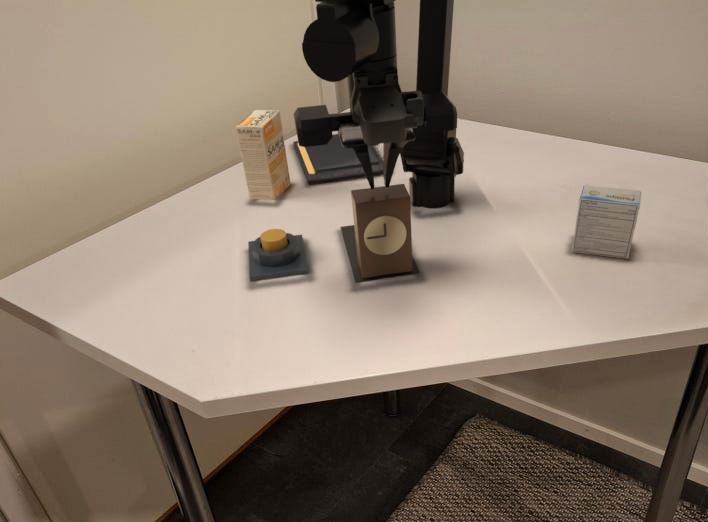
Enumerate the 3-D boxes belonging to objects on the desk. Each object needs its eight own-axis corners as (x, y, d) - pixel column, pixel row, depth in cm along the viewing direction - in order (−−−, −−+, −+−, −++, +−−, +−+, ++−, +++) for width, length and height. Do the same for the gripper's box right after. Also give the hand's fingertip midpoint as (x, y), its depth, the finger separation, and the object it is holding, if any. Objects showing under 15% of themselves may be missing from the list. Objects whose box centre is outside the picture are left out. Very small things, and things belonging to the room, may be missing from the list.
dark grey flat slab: (397, 224, 99) (397, 219, 98) (420, 279, 87) (420, 273, 86) (340, 232, 98) (340, 226, 97) (356, 288, 86) (355, 282, 85)
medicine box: (630, 245, 91) (642, 189, 86) (628, 261, 88) (640, 204, 83) (574, 238, 94) (583, 183, 88) (570, 253, 90) (579, 197, 85)
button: (262, 241, 90) (259, 230, 89) (287, 238, 91) (285, 227, 90) (262, 254, 88) (260, 242, 86) (288, 250, 88) (286, 239, 87)
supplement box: (276, 205, 106) (262, 127, 97) (249, 203, 107) (233, 126, 98) (292, 184, 112) (280, 109, 103) (267, 182, 113) (253, 108, 104)
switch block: (250, 251, 94) (245, 230, 92) (303, 244, 95) (300, 223, 93) (251, 287, 87) (246, 265, 85) (309, 279, 88) (305, 257, 86)
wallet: (388, 164, 112) (303, 175, 110) (388, 174, 113) (304, 185, 111) (366, 126, 127) (291, 135, 125) (367, 135, 128) (293, 144, 126)
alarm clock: (403, 183, 82) (410, 197, 79) (406, 256, 89) (413, 272, 86) (350, 190, 81) (355, 204, 78) (357, 263, 88) (362, 279, 85)
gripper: (291, 84, 62) (311, 226, 73) (472, 66, 65) (468, 205, 75) (284, 55, 71) (304, 185, 81) (445, 40, 73) (444, 168, 83)
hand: (379, 187), depth 80 cm, fingers closed
